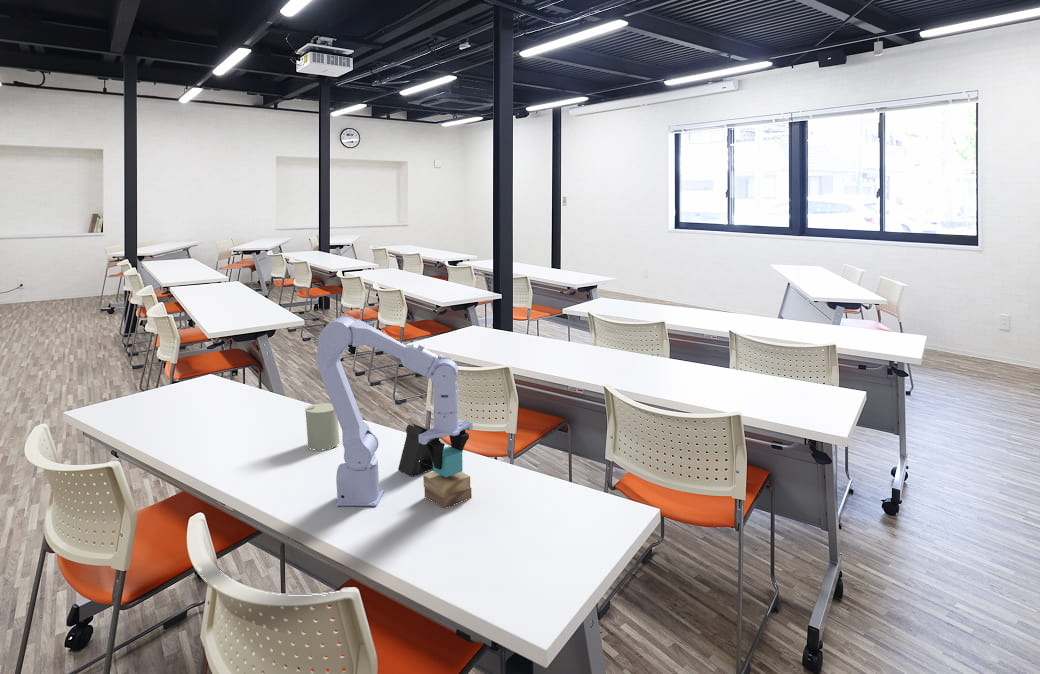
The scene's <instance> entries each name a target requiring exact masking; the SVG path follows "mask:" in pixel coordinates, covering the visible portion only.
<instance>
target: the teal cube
mask: <svg viewBox="0 0 1040 674" xmlns="http://www.w3.org/2000/svg"><path fill="white" fill-rule="evenodd" d="M432 472H436V473H438V474H440V475H442V476H444V477H448V476H451V475H454V474H457V473H459V472H463V452H462V451H460V450H457V449H455V448H453V447H451V445H448V446H444V449H443V455H442V468H441V469H440V470H439V469H437V468H435V467H434V464H433V470H432Z"/></svg>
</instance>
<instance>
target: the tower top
mask: <svg viewBox="0 0 1040 674" xmlns="http://www.w3.org/2000/svg"><path fill="white" fill-rule="evenodd" d="M422 476H423V477H422V478H423V488H424V487H425V488H427V489H428V490H430V491H432V492H434V493H435V494H437V495H439V496H440V497H442V498H444V497H447V496H450V495H452V494H455V493H458V492H461V491H463V490H466V489H469V488H470V487H471V476H470V475H468V474H466V473H465V472H463V471H462V472H459V473H457V474H454V475H451V476H448V477H444V476H442V475H440V474H438V473H436V472H434V471H432V472H429V473H426V474H423V475H422ZM425 488H424V489H425Z"/></svg>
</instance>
